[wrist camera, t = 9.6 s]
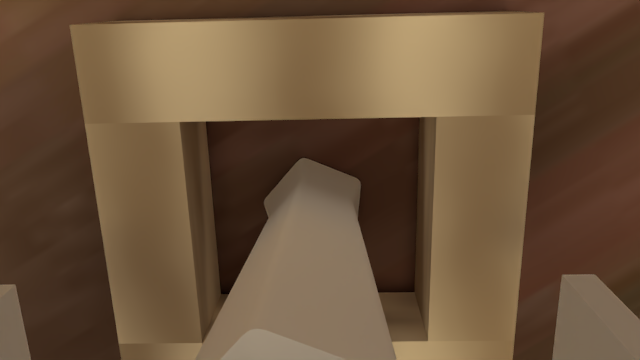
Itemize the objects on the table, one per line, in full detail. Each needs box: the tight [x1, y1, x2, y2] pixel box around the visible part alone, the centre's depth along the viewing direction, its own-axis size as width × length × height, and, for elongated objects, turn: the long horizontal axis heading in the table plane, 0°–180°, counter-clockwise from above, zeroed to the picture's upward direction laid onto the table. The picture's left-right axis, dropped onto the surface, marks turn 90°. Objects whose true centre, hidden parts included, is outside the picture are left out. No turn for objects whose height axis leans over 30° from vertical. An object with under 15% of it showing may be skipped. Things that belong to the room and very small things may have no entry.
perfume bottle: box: [195, 158, 397, 360], centre depth 15 cm, size 5×4×15 cm
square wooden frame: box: [69, 11, 544, 360], centre depth 20 cm, size 14×14×4 cm
